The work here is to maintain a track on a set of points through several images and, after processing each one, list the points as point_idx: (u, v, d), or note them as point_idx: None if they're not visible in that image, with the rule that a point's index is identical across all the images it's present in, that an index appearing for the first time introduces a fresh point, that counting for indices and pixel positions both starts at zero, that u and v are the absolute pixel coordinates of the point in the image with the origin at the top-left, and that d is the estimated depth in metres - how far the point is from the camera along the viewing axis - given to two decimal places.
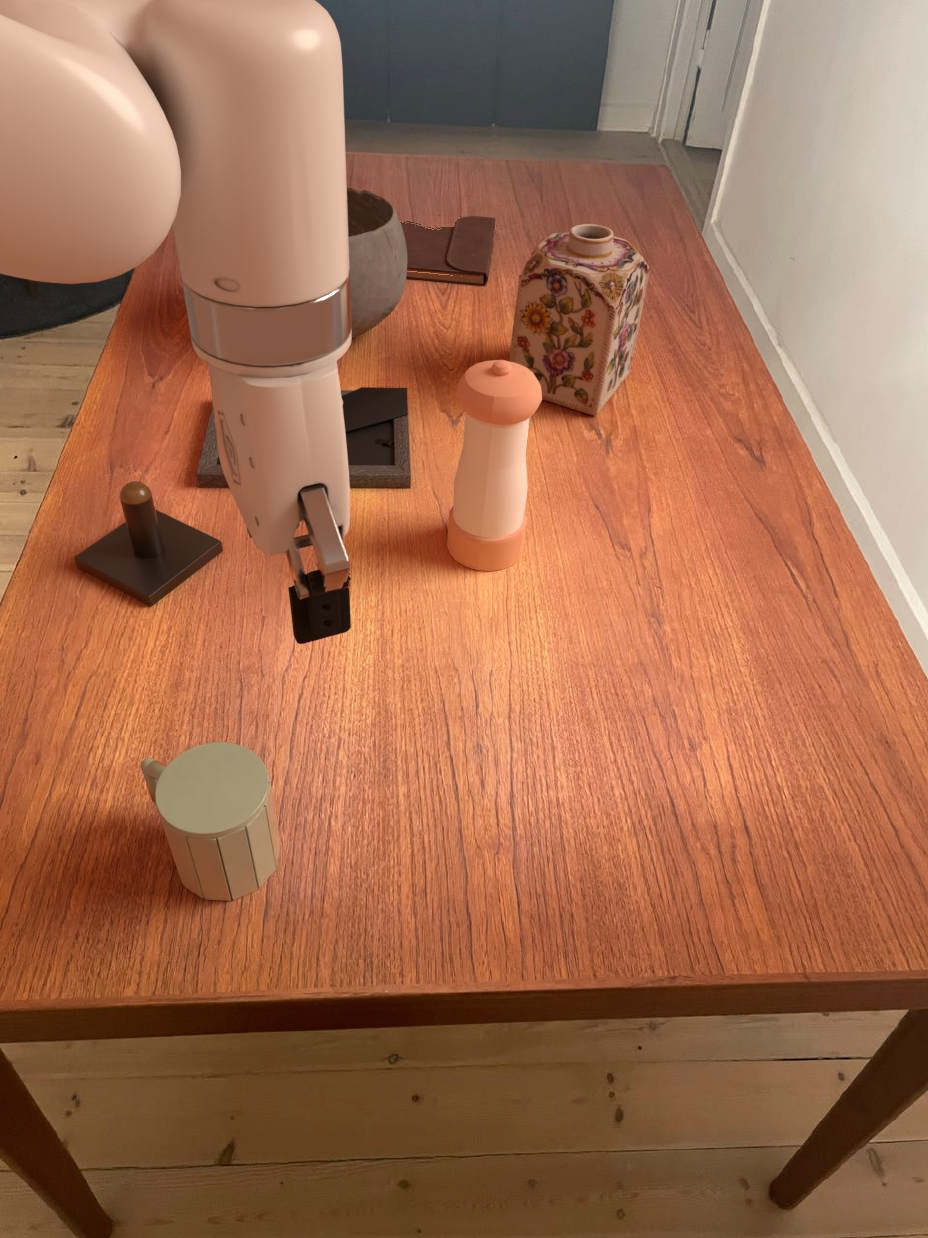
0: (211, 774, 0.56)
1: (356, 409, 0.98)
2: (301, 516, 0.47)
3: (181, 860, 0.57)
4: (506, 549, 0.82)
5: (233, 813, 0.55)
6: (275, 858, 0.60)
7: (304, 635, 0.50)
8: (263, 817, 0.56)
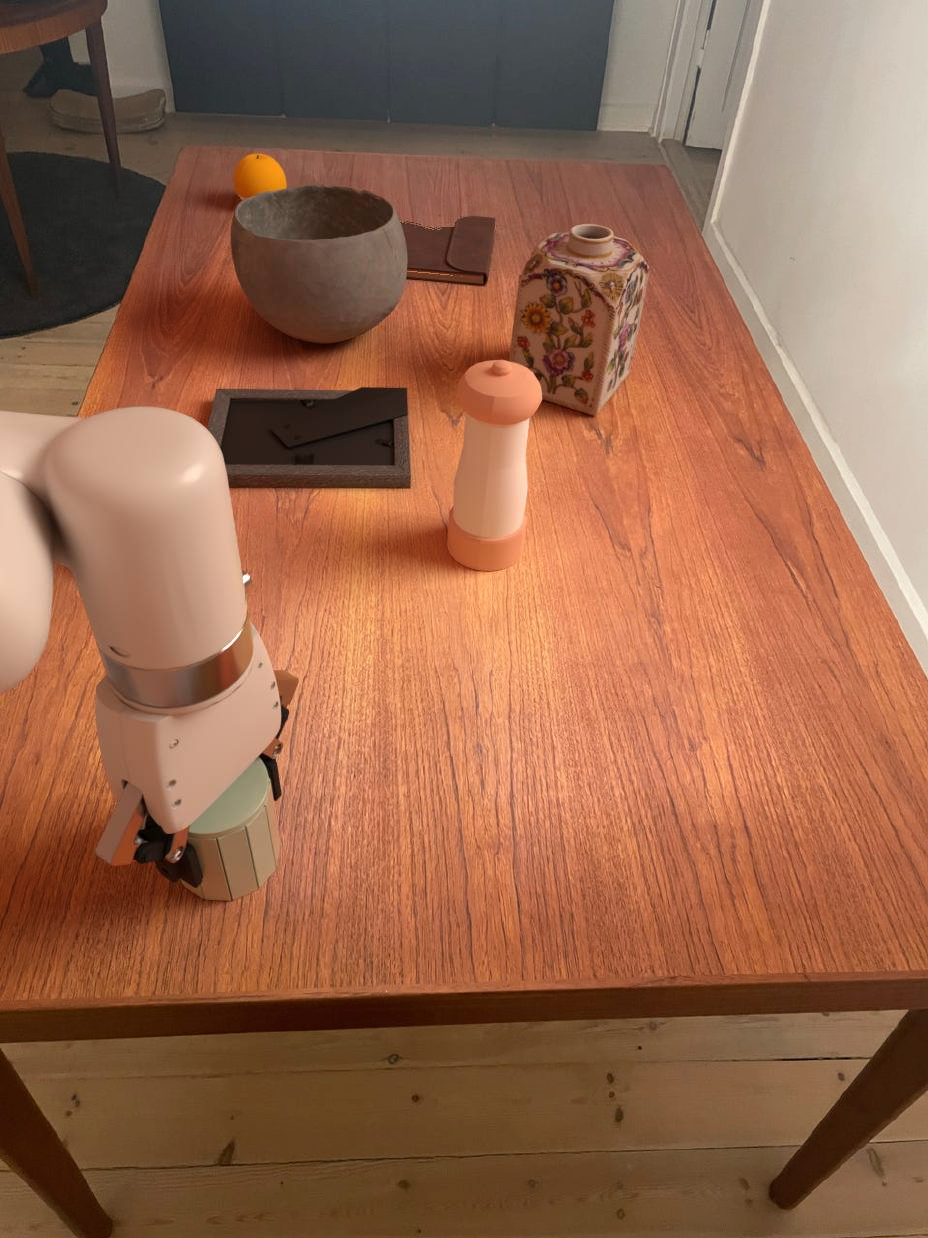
0: None
1: (356, 409, 0.98)
2: None
3: None
4: (506, 549, 0.82)
5: (233, 813, 0.55)
6: (275, 858, 0.60)
7: None
8: (263, 817, 0.56)
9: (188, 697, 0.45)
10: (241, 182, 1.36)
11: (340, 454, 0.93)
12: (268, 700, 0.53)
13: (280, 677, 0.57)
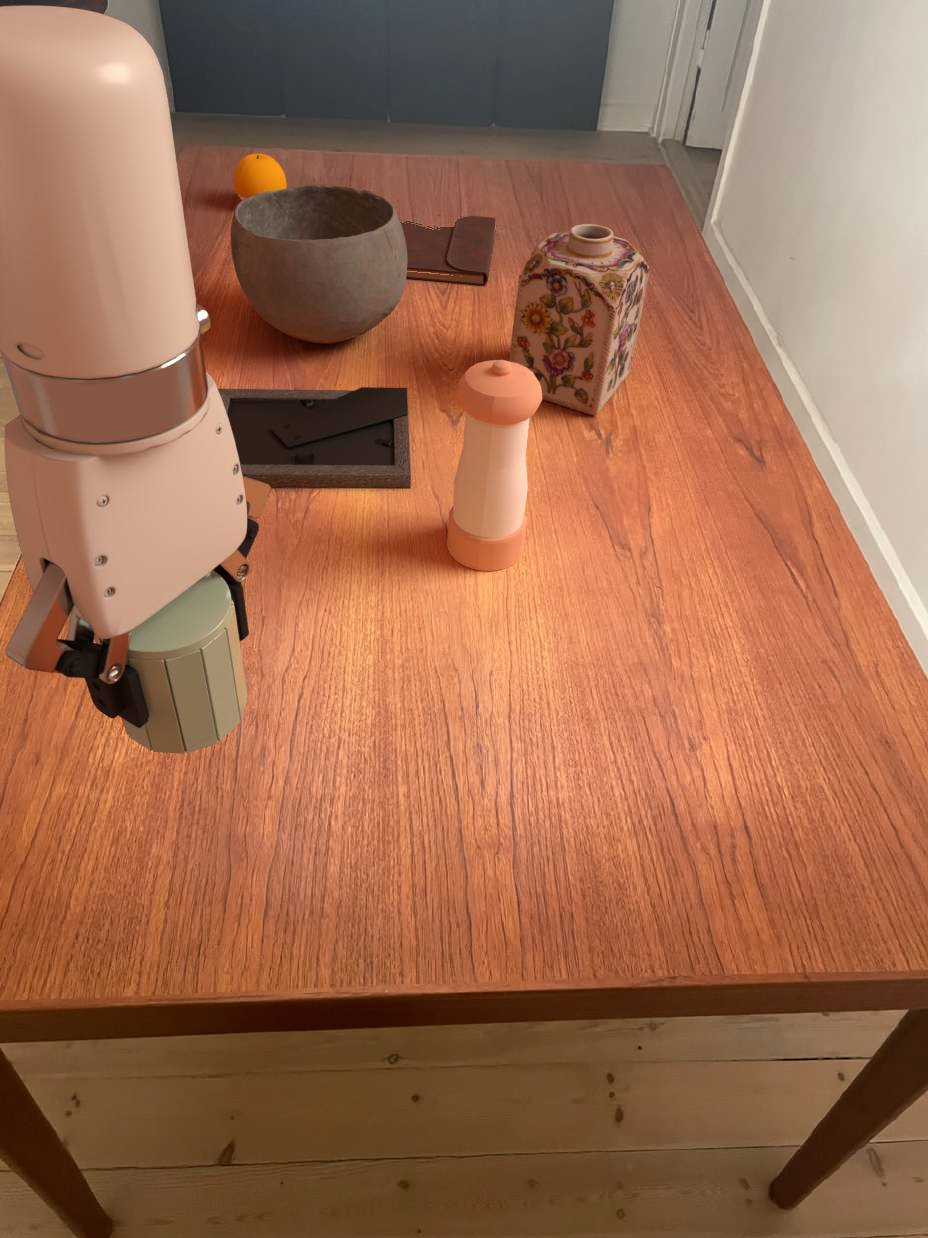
0: None
1: (356, 409, 0.98)
2: None
3: None
4: (506, 549, 0.82)
5: (186, 632, 0.45)
6: (239, 707, 0.50)
7: None
8: (223, 643, 0.46)
9: (119, 429, 0.35)
10: (241, 182, 1.36)
11: (340, 454, 0.93)
12: (230, 486, 0.43)
13: (247, 477, 0.47)
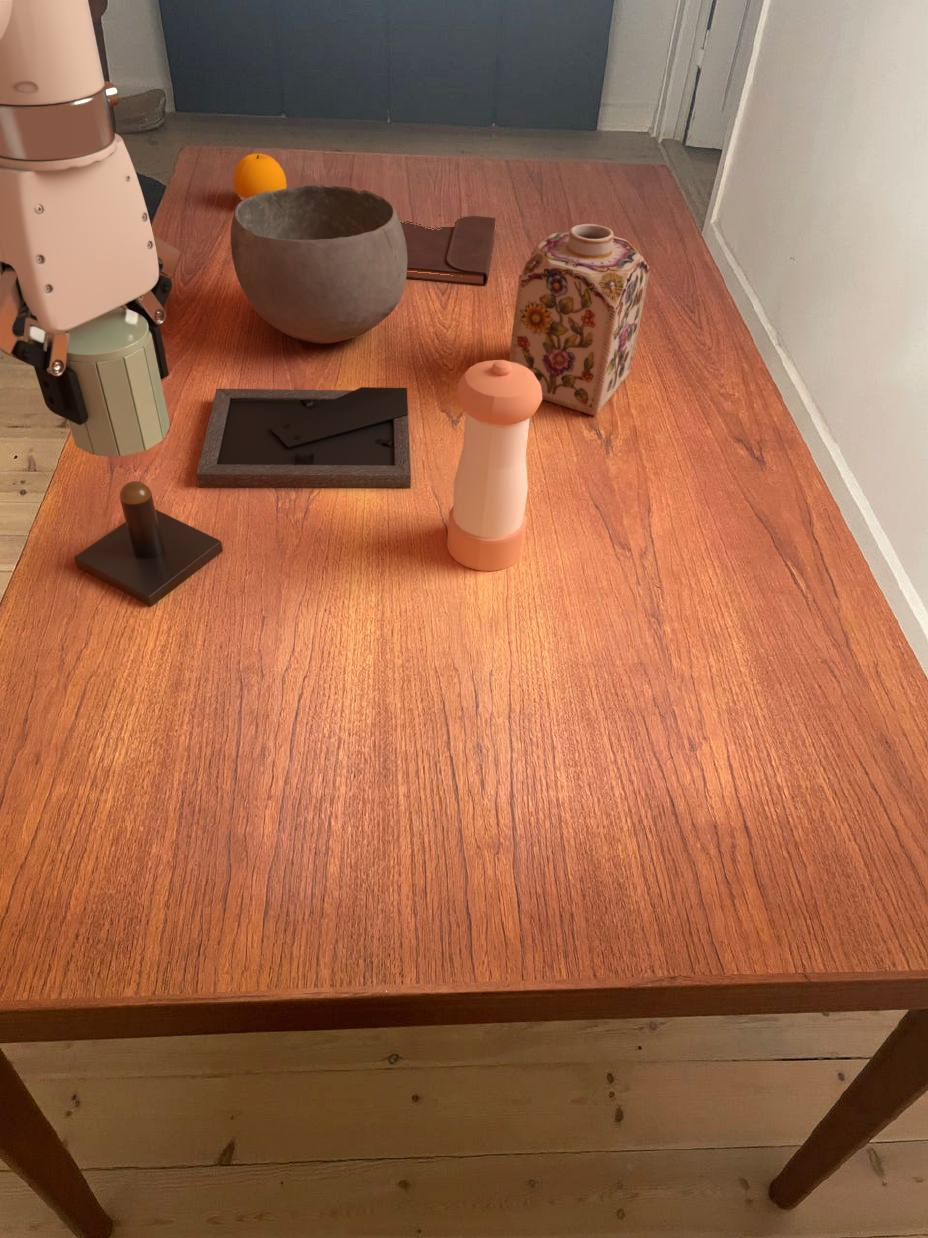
0: (96, 323, 0.62)
1: (356, 409, 0.98)
2: None
3: None
4: (506, 549, 0.82)
5: (112, 344, 0.60)
6: (161, 426, 0.66)
7: None
8: (142, 359, 0.62)
9: (47, 148, 0.50)
10: (241, 182, 1.36)
11: (340, 454, 0.93)
12: (141, 230, 0.59)
13: (160, 238, 0.63)
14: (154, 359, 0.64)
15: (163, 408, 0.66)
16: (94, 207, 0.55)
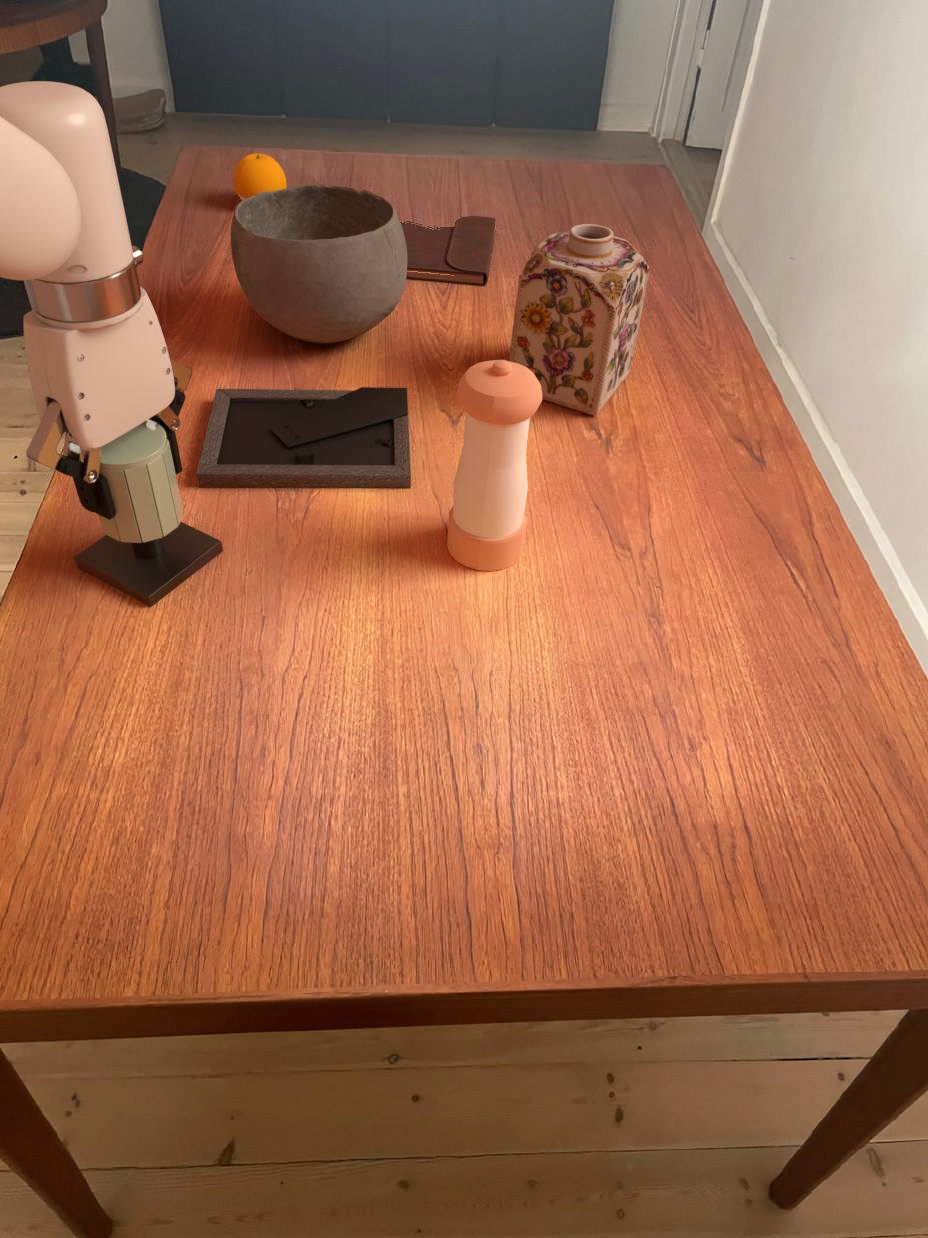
0: None
1: (356, 409, 0.98)
2: None
3: None
4: (506, 549, 0.82)
5: (137, 454, 0.72)
6: (177, 515, 0.78)
7: None
8: (162, 464, 0.73)
9: (88, 313, 0.62)
10: (241, 182, 1.36)
11: (340, 454, 0.93)
12: (161, 361, 0.70)
13: (175, 361, 0.74)
14: (171, 461, 0.75)
15: (178, 500, 0.78)
16: (124, 350, 0.66)
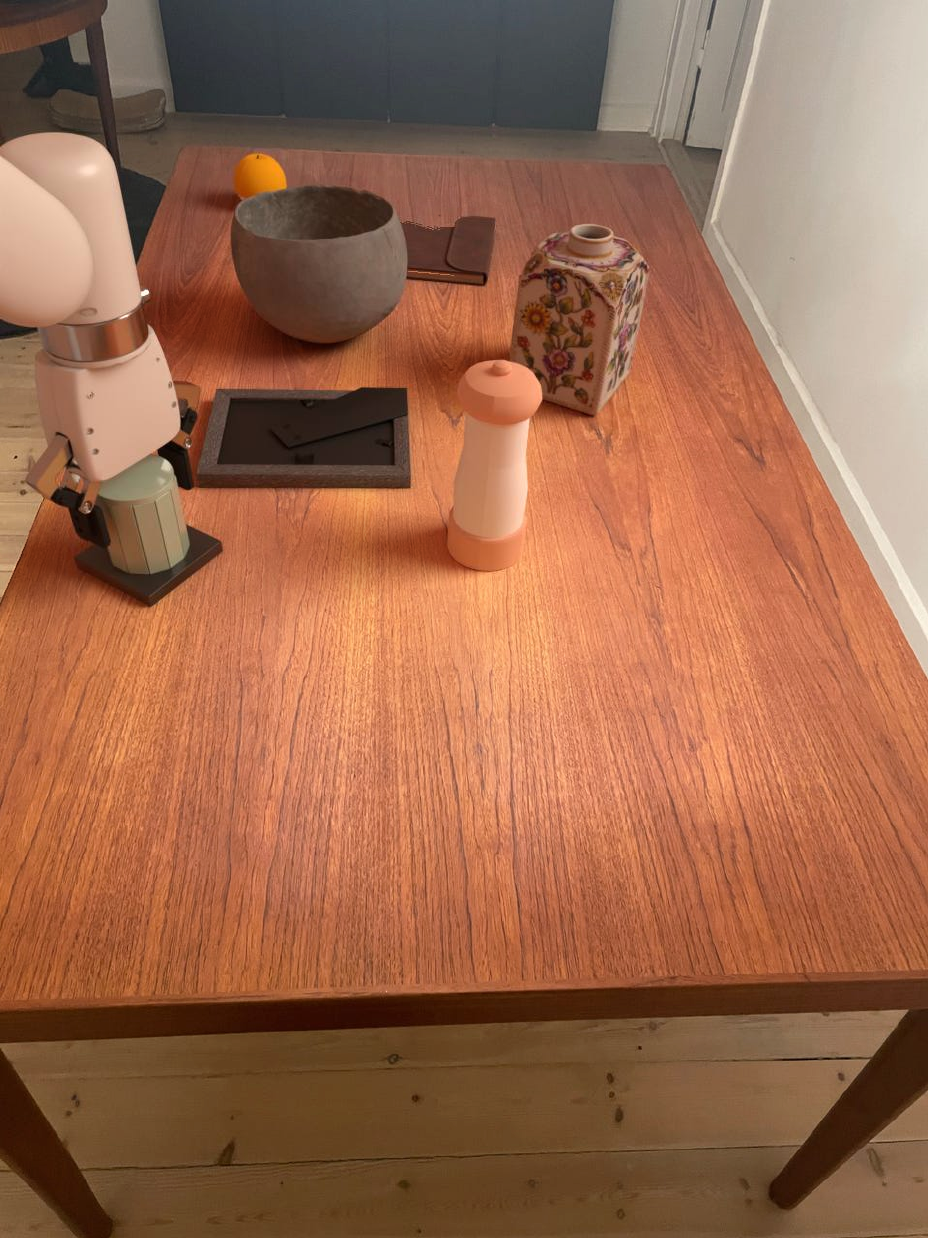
0: (131, 469, 0.76)
1: (356, 409, 0.98)
2: None
3: (109, 534, 0.76)
4: (506, 549, 0.82)
5: (145, 490, 0.74)
6: (183, 547, 0.80)
7: None
8: (169, 499, 0.76)
9: (98, 353, 0.64)
10: (241, 182, 1.36)
11: (340, 454, 0.93)
12: (167, 395, 0.72)
13: (182, 384, 0.76)
14: (178, 496, 0.78)
15: (184, 532, 0.80)
16: (132, 386, 0.69)
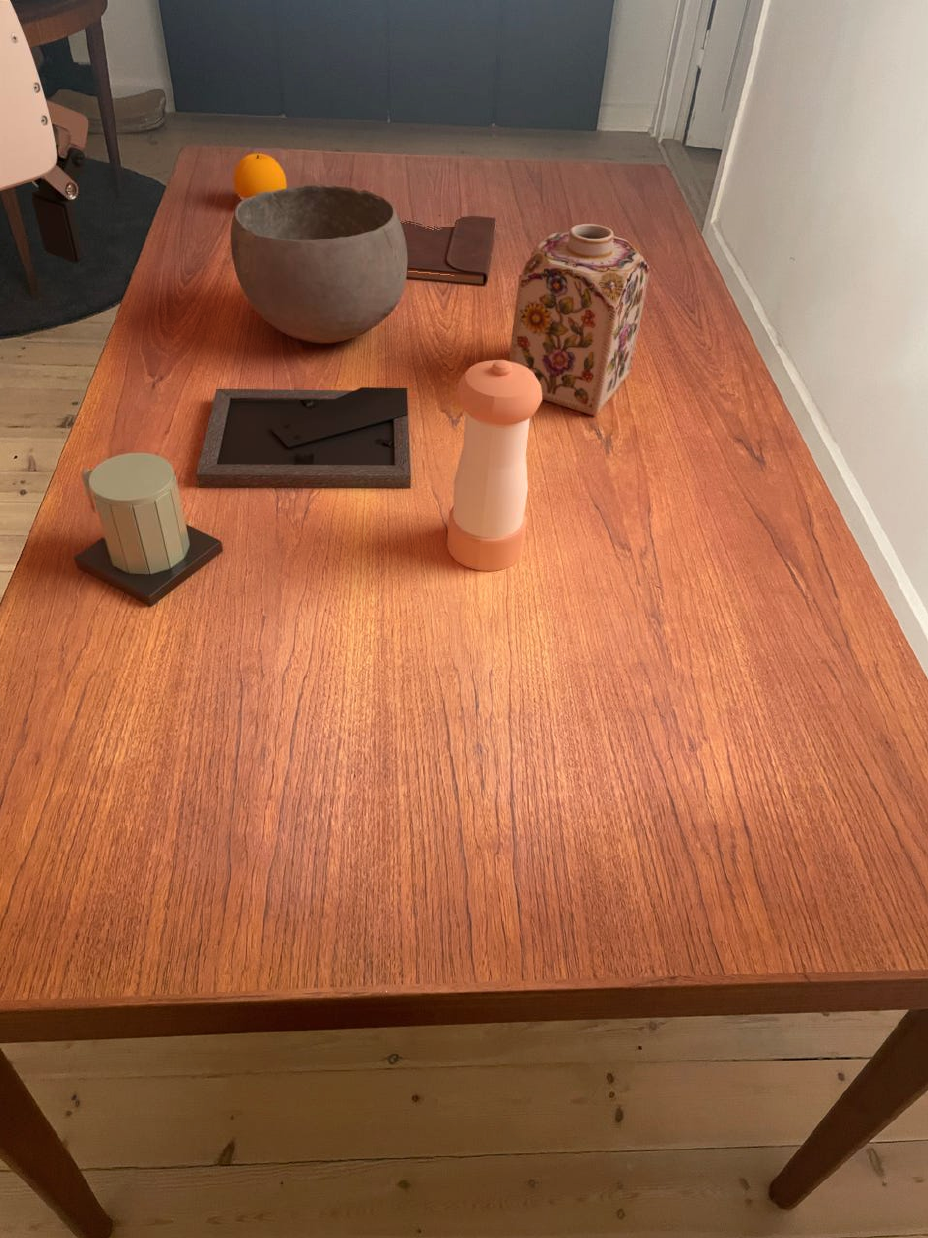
0: (131, 469, 0.76)
1: (356, 409, 0.98)
2: None
3: (109, 534, 0.76)
4: (506, 549, 0.82)
5: (145, 490, 0.74)
6: (183, 547, 0.80)
7: None
8: (169, 499, 0.76)
9: None
10: (241, 182, 1.36)
11: (340, 454, 0.93)
12: (32, 101, 0.55)
13: None
14: (178, 496, 0.78)
15: (184, 532, 0.80)
16: None
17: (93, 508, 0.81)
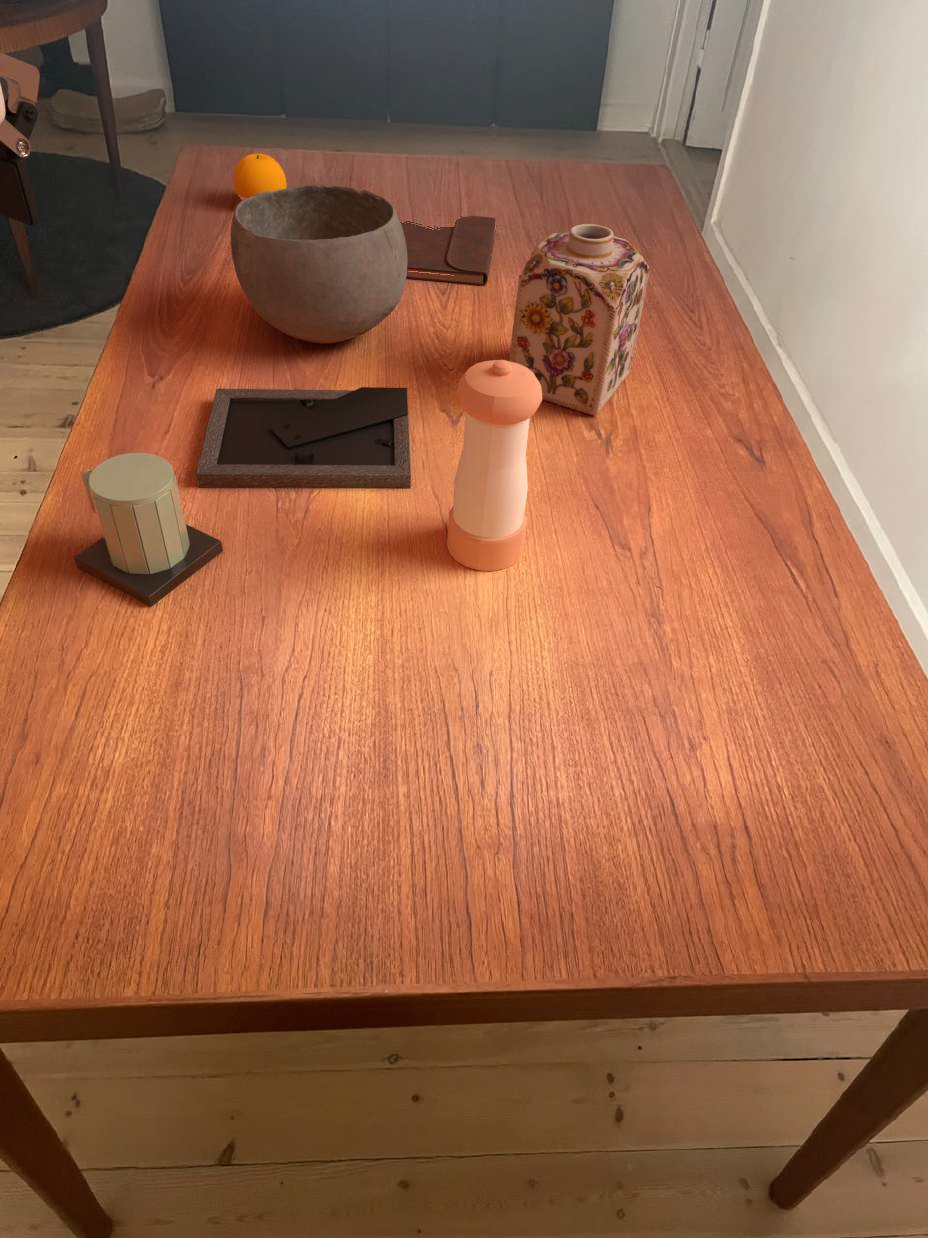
0: (131, 469, 0.76)
1: (356, 409, 0.98)
2: None
3: (109, 534, 0.76)
4: (506, 549, 0.82)
5: (145, 490, 0.74)
6: (183, 547, 0.80)
7: None
8: (169, 499, 0.76)
9: None
10: (241, 182, 1.36)
11: (340, 454, 0.93)
12: None
13: None
14: (178, 496, 0.78)
15: (184, 532, 0.80)
16: None
17: (93, 508, 0.81)
